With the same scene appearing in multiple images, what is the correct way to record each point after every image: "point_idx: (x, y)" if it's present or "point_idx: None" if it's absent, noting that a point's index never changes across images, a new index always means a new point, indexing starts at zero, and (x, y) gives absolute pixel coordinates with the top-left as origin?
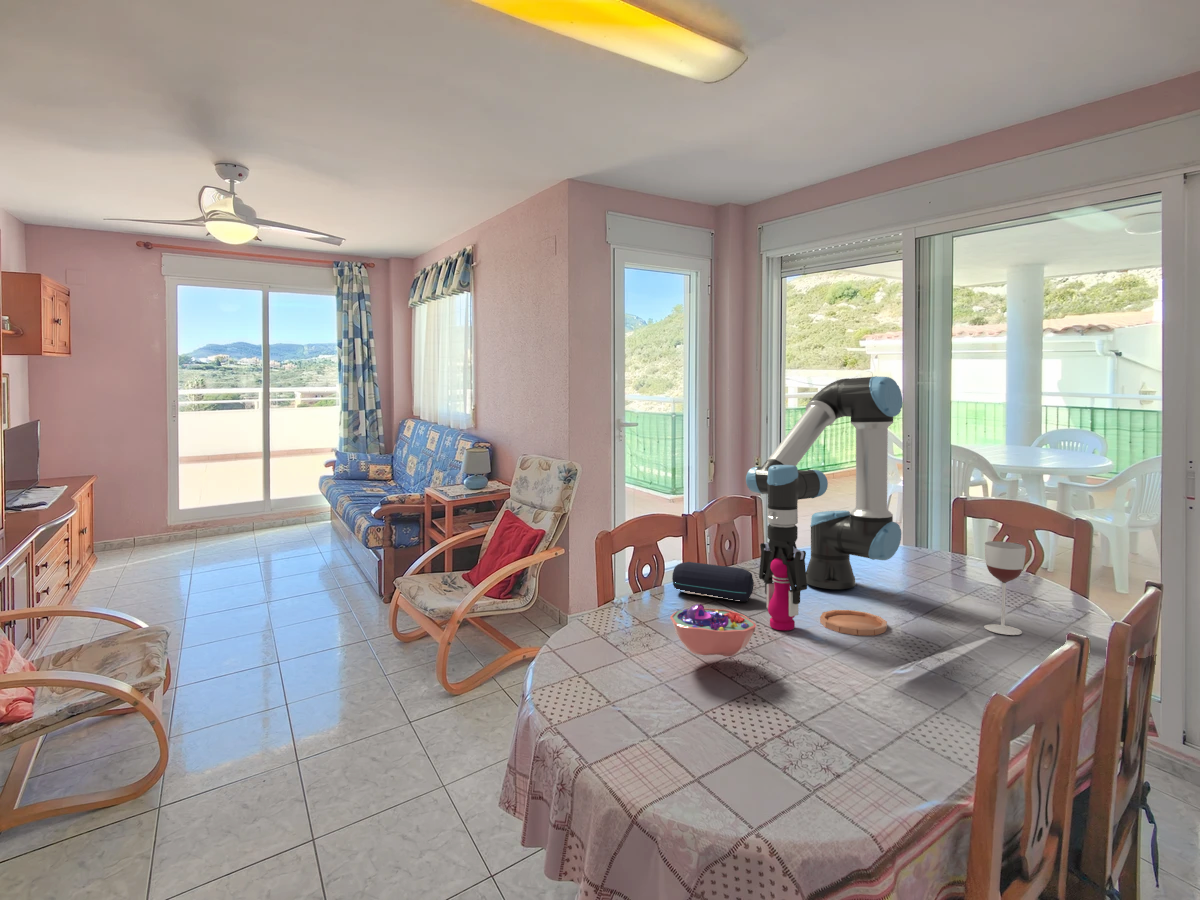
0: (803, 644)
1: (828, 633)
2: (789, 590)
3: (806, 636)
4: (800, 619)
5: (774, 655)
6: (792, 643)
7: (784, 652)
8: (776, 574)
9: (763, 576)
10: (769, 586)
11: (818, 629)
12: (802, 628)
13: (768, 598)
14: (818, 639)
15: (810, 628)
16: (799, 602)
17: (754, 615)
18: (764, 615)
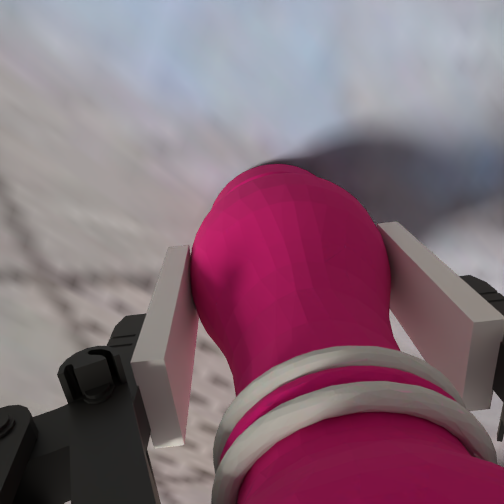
0: (491, 282)
1: (477, 45)
2: (498, 438)
3: (433, 199)
4: (196, 8)
5: (489, 433)
6: None
7: (495, 393)
8: None
9: (55, 502)
10: (183, 417)
11: (397, 48)
12: (335, 129)
13: (194, 351)
14: (497, 174)
15: (359, 83)
16: (479, 284)
17: (32, 232)
18: (47, 179)
